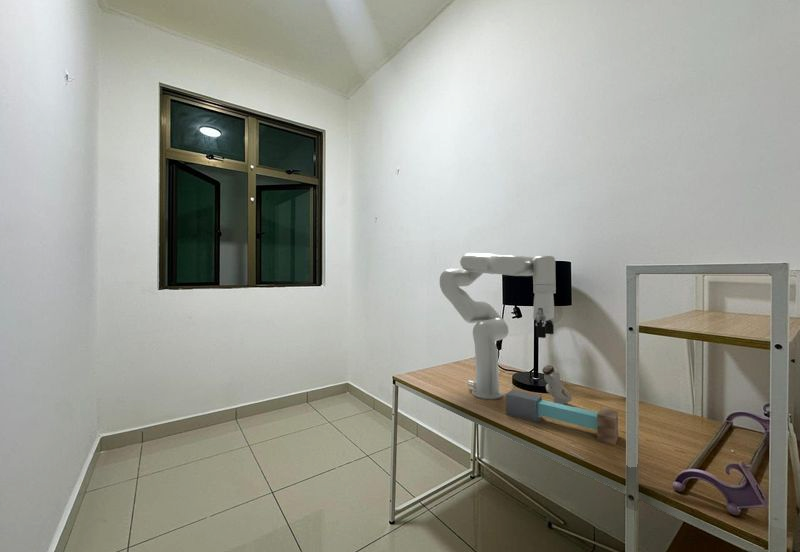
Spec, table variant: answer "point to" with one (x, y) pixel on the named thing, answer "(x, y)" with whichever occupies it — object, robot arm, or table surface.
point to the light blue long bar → (567, 414)
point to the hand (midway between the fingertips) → (545, 335)
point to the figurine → (555, 386)
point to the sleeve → (522, 405)
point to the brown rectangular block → (607, 425)
